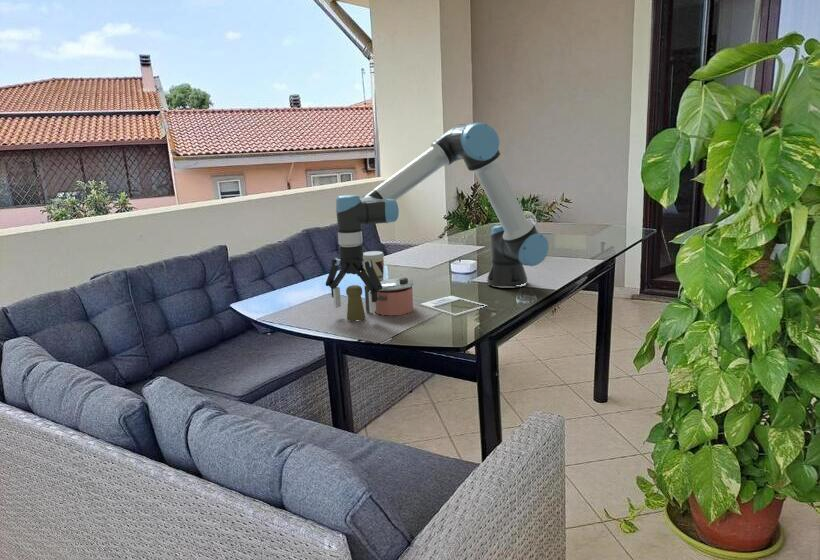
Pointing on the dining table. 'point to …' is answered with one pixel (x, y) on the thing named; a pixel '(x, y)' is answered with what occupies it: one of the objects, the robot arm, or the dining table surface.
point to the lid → (396, 284)
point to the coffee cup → (375, 262)
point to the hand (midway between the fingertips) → (354, 309)
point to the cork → (355, 303)
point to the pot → (392, 301)
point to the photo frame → (445, 301)
